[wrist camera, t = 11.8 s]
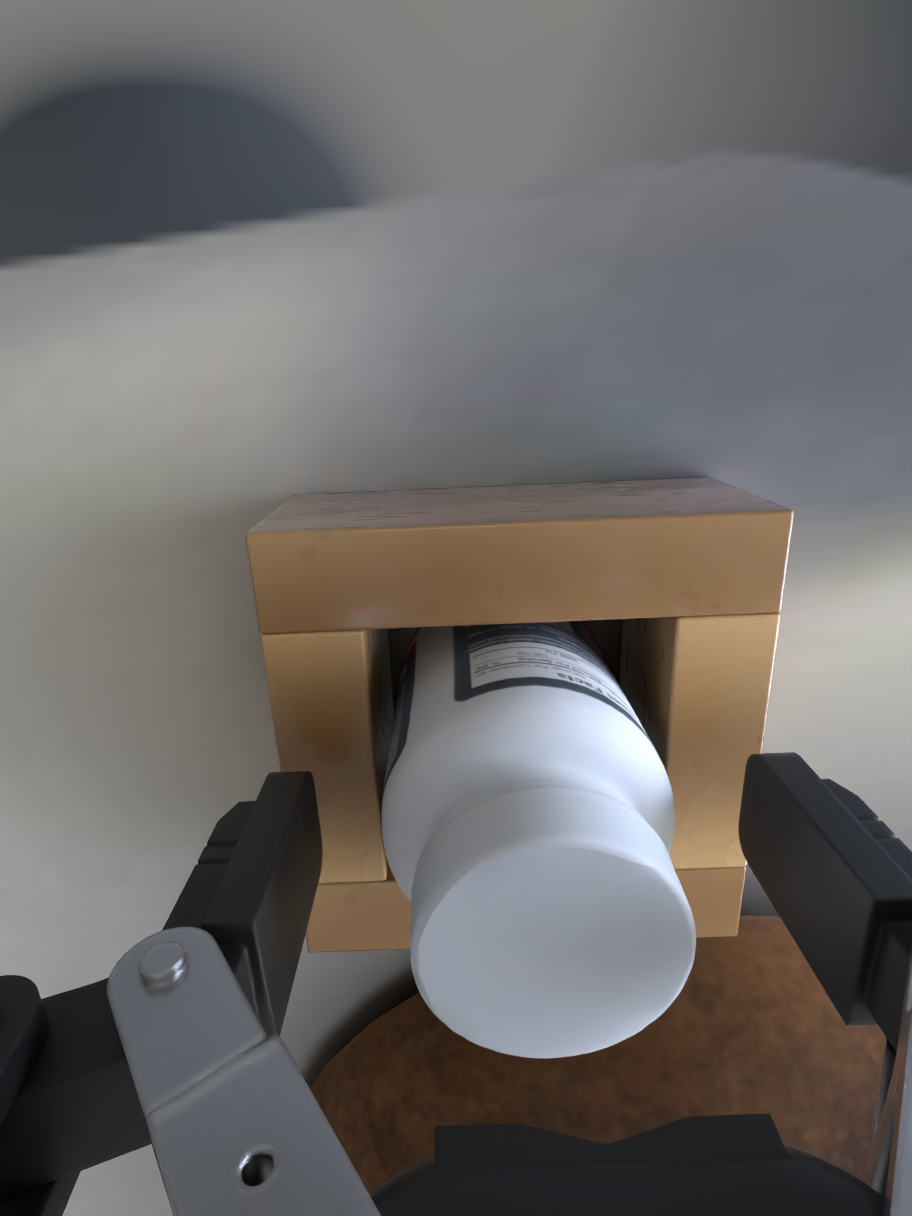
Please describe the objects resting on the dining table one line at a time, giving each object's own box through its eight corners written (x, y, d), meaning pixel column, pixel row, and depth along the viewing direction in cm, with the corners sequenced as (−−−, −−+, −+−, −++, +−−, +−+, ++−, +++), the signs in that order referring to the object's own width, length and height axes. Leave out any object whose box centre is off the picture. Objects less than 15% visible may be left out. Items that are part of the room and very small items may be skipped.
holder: (292, 494, 16) (242, 532, 12) (712, 476, 16) (795, 509, 12) (335, 839, 19) (307, 953, 15) (681, 825, 19) (738, 937, 15)
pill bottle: (492, 797, 19) (528, 1143, 10) (360, 675, 17) (276, 958, 9) (641, 681, 17) (819, 967, 9) (511, 541, 16) (579, 724, 8)
